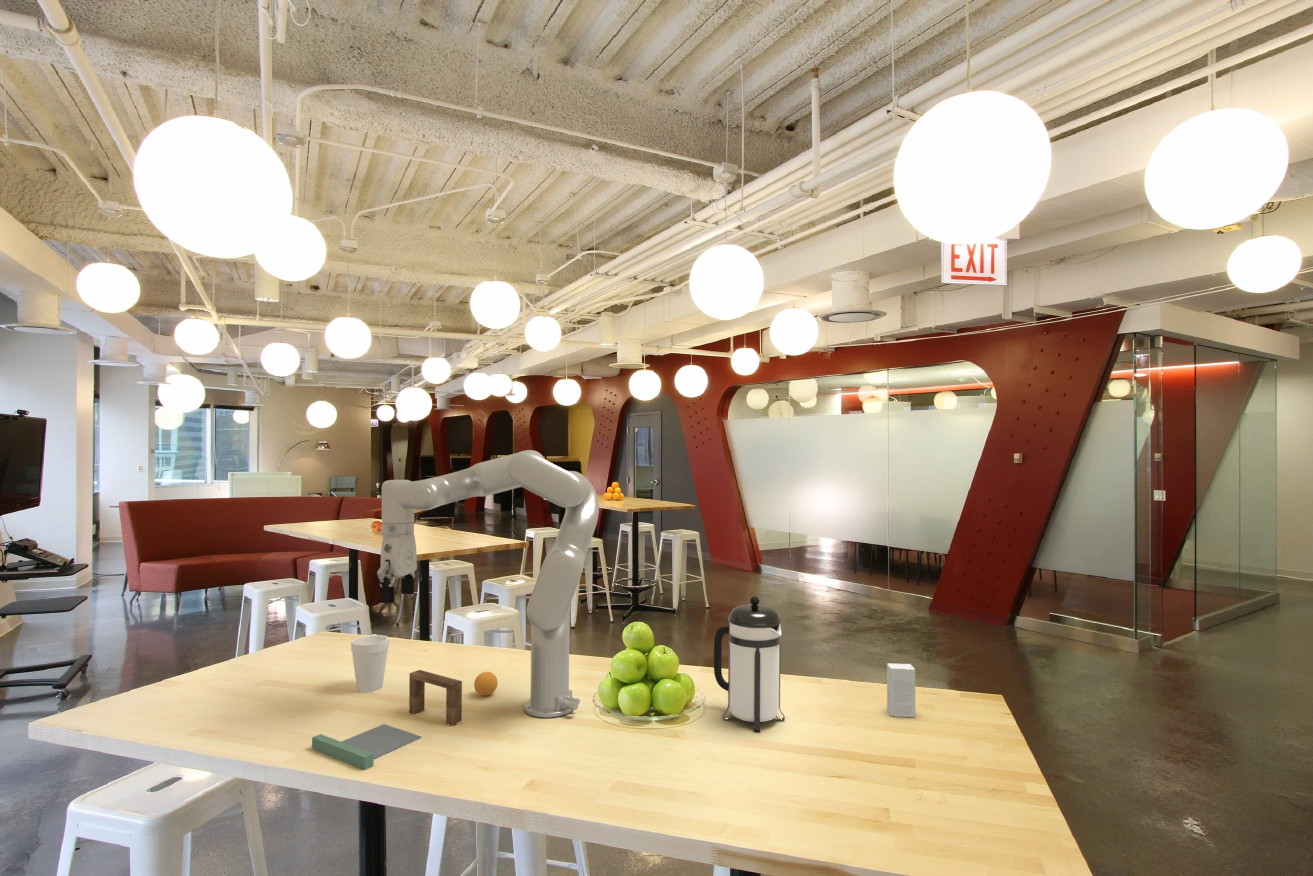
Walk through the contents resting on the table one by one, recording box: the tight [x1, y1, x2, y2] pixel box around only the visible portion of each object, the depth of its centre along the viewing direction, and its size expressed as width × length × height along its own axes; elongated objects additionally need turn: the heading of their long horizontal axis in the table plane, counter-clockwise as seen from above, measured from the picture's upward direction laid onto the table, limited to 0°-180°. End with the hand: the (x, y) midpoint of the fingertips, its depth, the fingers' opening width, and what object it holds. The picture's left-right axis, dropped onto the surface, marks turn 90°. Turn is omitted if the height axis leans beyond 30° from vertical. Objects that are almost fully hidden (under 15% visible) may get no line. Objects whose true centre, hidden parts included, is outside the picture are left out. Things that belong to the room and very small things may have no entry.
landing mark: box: [340, 723, 422, 760], centre depth 154 cm, size 13×13×1 cm
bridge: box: [408, 669, 463, 726], centre depth 168 cm, size 3×15×10 cm, turn 59°
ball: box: [473, 671, 499, 697], centre depth 183 cm, size 6×6×6 cm
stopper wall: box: [311, 733, 374, 771], centre depth 147 cm, size 18×2×2 cm, turn 59°
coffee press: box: [713, 595, 786, 733], centre depth 169 cm, size 17×16×30 cm
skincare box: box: [886, 662, 916, 718], centre depth 173 cm, size 6×4×12 cm
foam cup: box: [350, 634, 390, 693], centre depth 187 cm, size 10×9×13 cm
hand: (398, 598), depth 172 cm, fingers open, 9 cm apart
